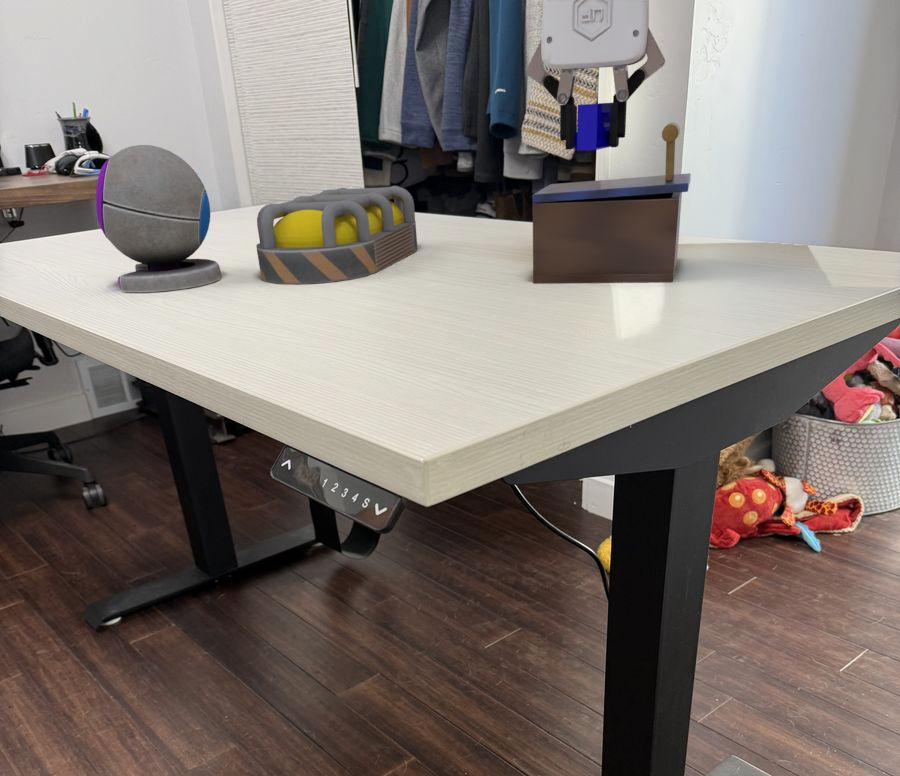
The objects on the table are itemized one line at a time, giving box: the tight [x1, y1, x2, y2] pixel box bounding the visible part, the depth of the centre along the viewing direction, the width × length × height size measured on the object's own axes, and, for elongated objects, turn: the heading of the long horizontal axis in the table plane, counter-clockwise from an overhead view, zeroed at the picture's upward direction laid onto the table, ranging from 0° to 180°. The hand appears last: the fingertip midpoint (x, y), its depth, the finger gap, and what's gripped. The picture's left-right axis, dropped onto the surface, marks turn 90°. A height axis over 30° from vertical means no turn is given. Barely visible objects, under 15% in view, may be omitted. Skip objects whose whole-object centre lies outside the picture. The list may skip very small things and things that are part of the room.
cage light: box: [256, 185, 418, 285], centre depth 110 cm, size 15×8×30 cm
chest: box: [532, 192, 683, 284], centre depth 93 cm, size 15×12×8 cm
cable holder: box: [574, 102, 612, 152], centre depth 89 cm, size 8×4×4 cm, turn 155°
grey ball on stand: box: [95, 144, 222, 293], centre depth 102 cm, size 13×13×15 cm
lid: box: [532, 122, 692, 204], centre depth 90 cm, size 15×12×6 cm
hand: (592, 145), depth 89 cm, fingers closed on cable holder, 3 cm apart
